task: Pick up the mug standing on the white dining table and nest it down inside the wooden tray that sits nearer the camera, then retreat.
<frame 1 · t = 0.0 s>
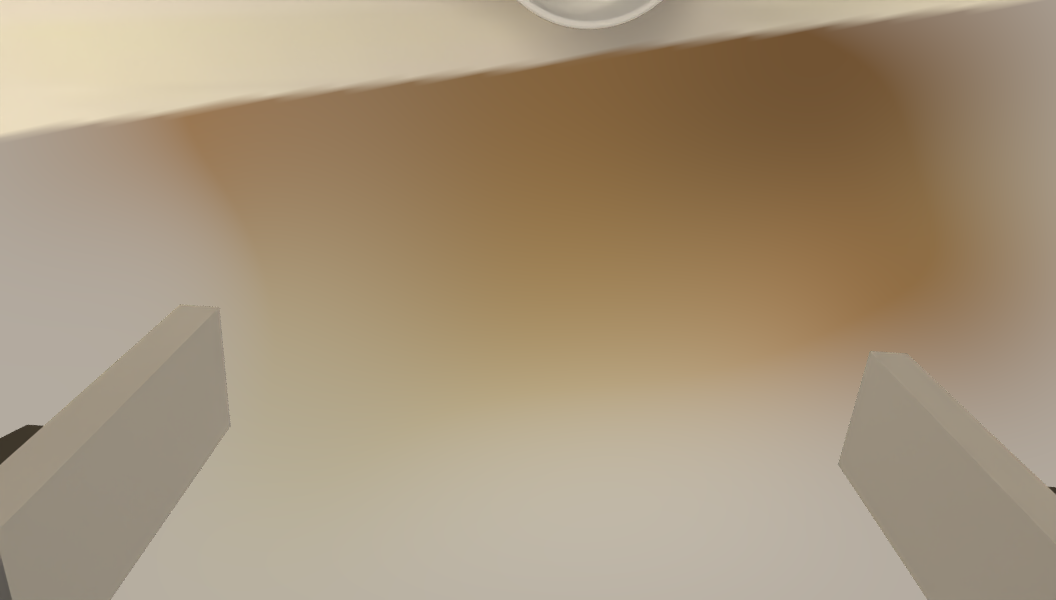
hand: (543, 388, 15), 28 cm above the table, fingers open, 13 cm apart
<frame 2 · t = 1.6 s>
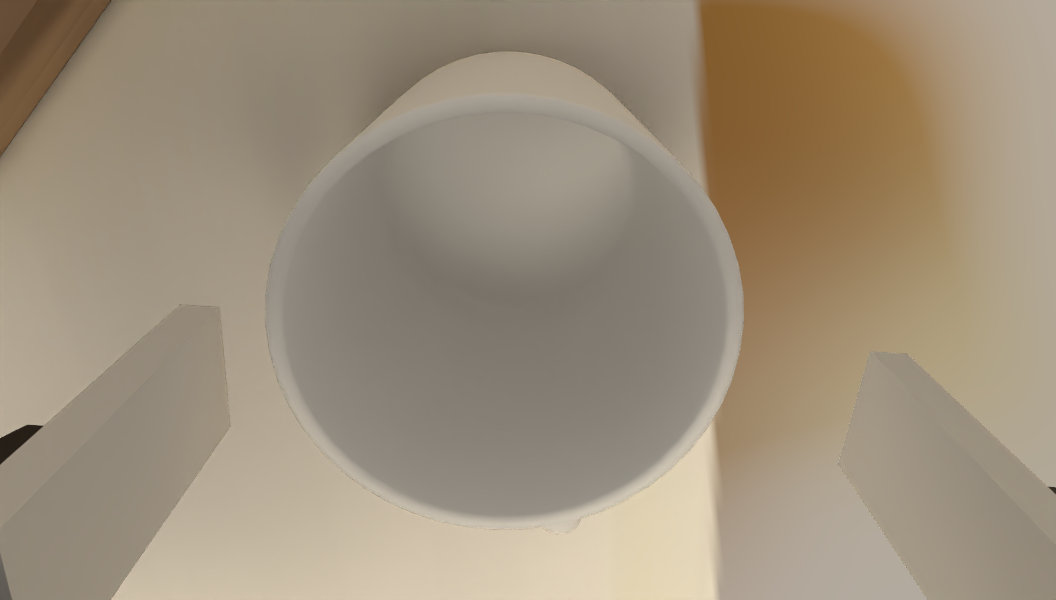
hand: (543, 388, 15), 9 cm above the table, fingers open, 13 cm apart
mug: (519, 240, 24), on the table
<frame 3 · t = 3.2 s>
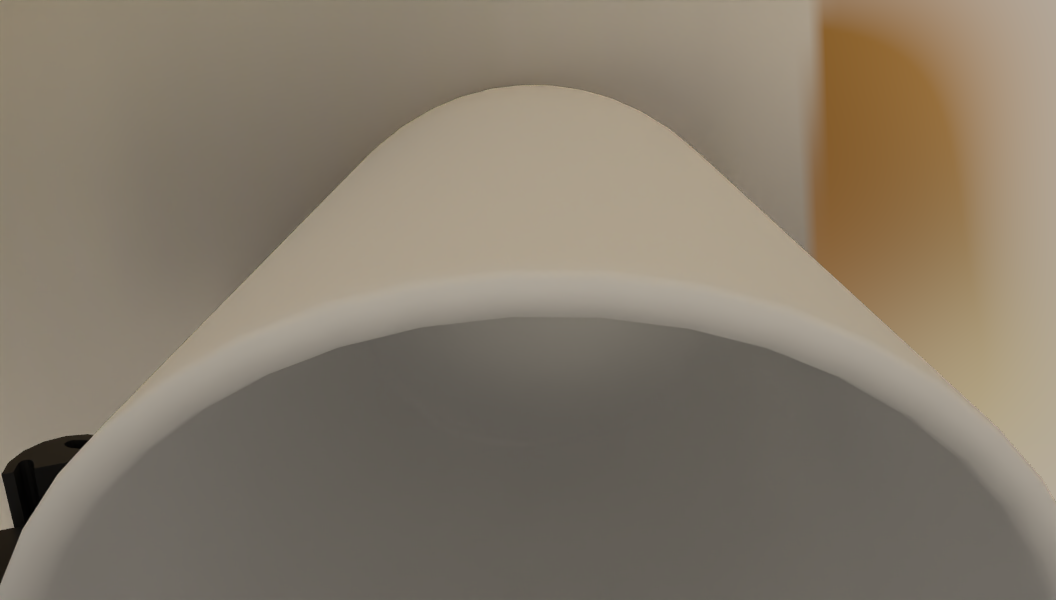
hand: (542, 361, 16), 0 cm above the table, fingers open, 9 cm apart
mug: (546, 352, 17), on the table, touching gripper
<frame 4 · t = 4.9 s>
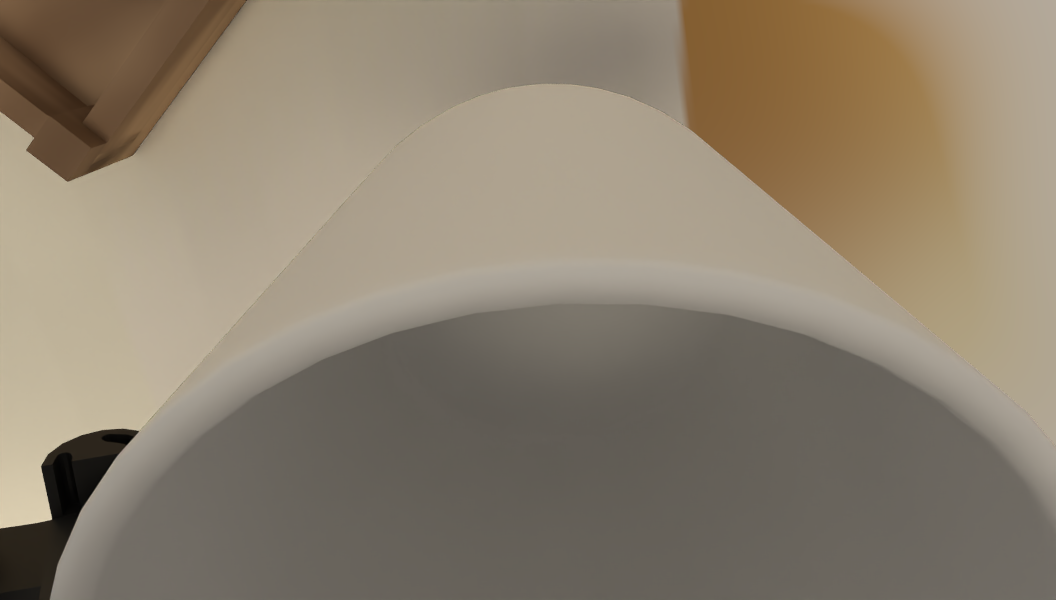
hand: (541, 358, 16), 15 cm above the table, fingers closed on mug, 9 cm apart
mug: (562, 348, 17), point 15 cm above the table, touching gripper
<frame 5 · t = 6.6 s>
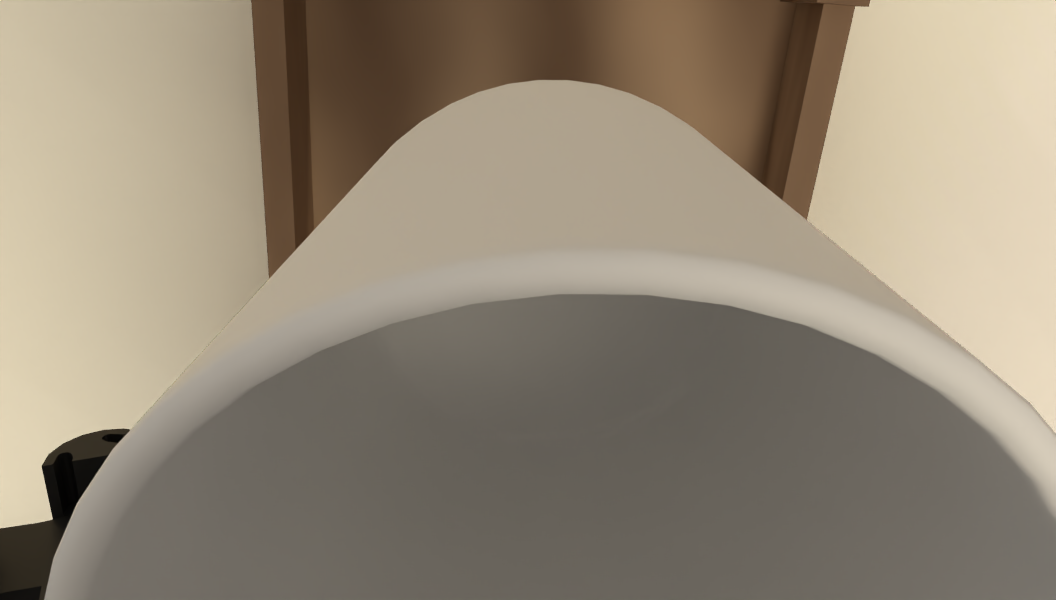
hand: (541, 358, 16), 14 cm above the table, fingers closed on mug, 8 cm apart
mug: (561, 346, 17), point 13 cm above the table, touching gripper
wooden tray: (534, 199, 29), on the table
when the fingers open (3 cm above the table, at t = 9.2 s): mug drops 2 cm, resting on wooden tray.
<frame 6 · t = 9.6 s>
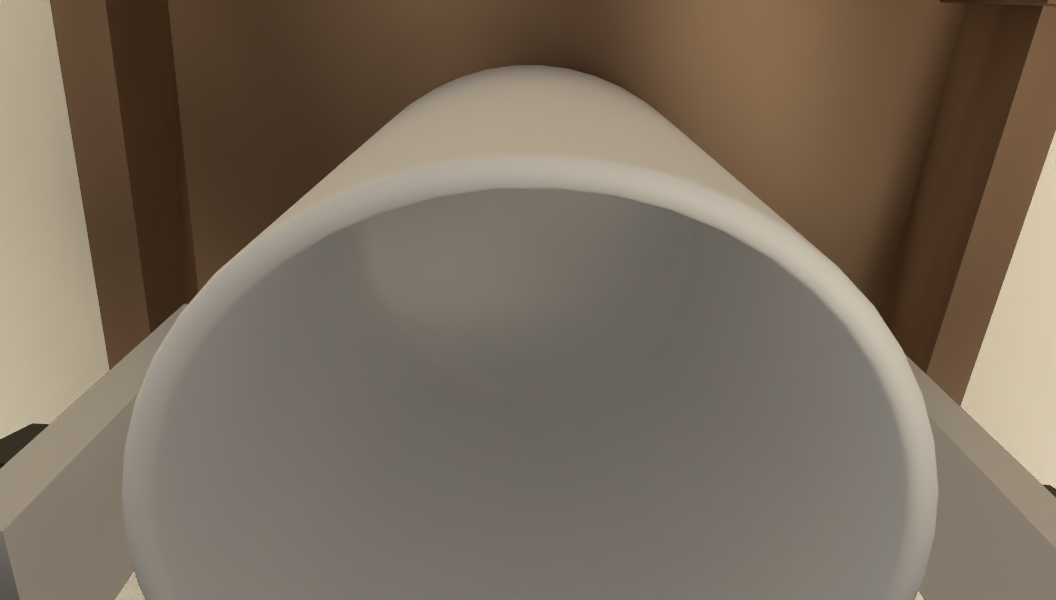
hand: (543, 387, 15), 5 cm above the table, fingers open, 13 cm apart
mug: (542, 306, 19), point 1 cm above the table, touching wooden tray
wooden tray: (539, 300, 19), on the table
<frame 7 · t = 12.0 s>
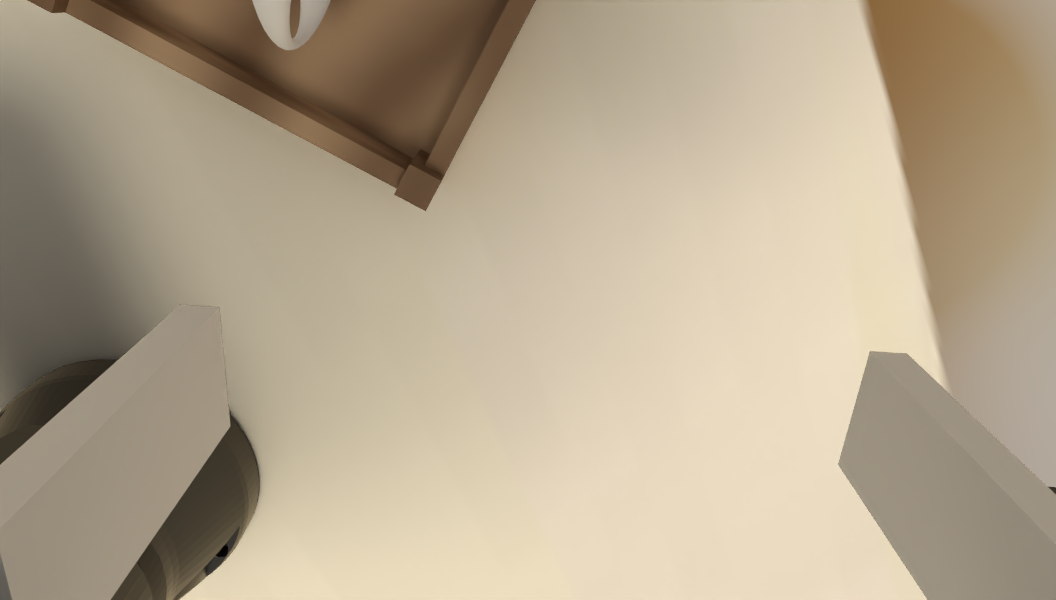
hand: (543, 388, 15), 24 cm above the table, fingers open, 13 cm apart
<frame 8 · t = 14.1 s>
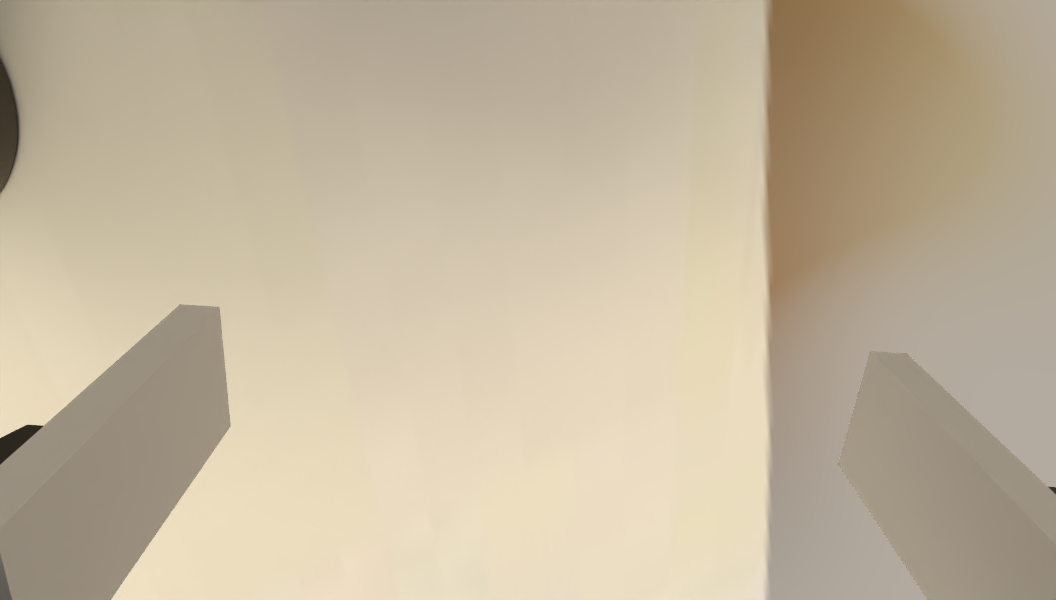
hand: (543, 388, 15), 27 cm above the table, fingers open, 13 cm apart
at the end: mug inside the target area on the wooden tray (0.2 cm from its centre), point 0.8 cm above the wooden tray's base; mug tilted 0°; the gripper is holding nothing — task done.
